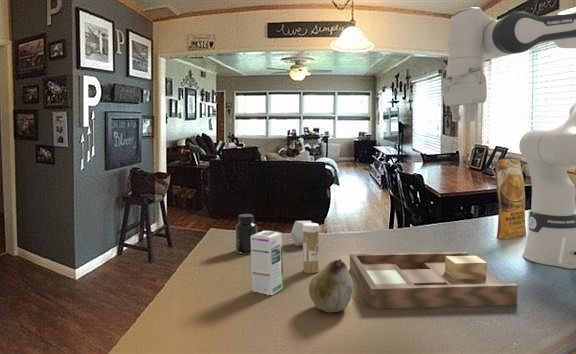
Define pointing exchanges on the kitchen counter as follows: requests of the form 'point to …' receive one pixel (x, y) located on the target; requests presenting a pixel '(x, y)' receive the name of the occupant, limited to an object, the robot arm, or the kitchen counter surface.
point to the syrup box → (267, 262)
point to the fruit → (331, 287)
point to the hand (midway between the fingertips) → (463, 121)
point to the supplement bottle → (245, 233)
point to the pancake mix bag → (510, 198)
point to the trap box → (423, 282)
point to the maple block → (465, 267)
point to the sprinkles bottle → (310, 248)
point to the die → (298, 232)
